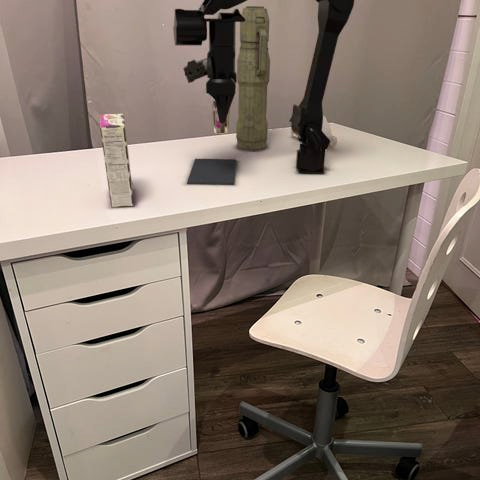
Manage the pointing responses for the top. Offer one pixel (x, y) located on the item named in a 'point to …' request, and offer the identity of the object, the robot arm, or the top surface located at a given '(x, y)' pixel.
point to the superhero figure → (326, 133)
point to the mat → (213, 172)
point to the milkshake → (218, 127)
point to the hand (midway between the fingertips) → (222, 121)
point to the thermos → (253, 79)
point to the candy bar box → (116, 160)
